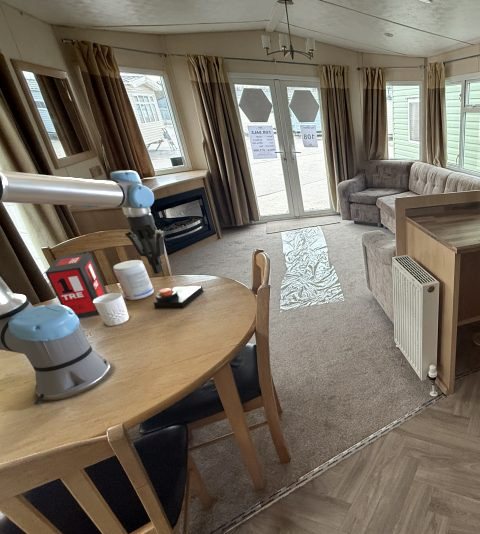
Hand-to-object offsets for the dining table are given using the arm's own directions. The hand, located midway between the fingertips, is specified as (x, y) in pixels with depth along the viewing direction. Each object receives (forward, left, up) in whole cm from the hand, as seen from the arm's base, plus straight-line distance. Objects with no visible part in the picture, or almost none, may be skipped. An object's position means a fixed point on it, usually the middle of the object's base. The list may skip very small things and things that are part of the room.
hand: (158, 272), depth 134 cm
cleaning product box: (-3, +28, -15) cm, 32 cm away
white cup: (-13, +10, -15) cm, 22 cm away
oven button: (0, 0, -10) cm, 10 cm away
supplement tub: (+7, +16, -15) cm, 23 cm away
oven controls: (+3, -3, -14) cm, 15 cm away
